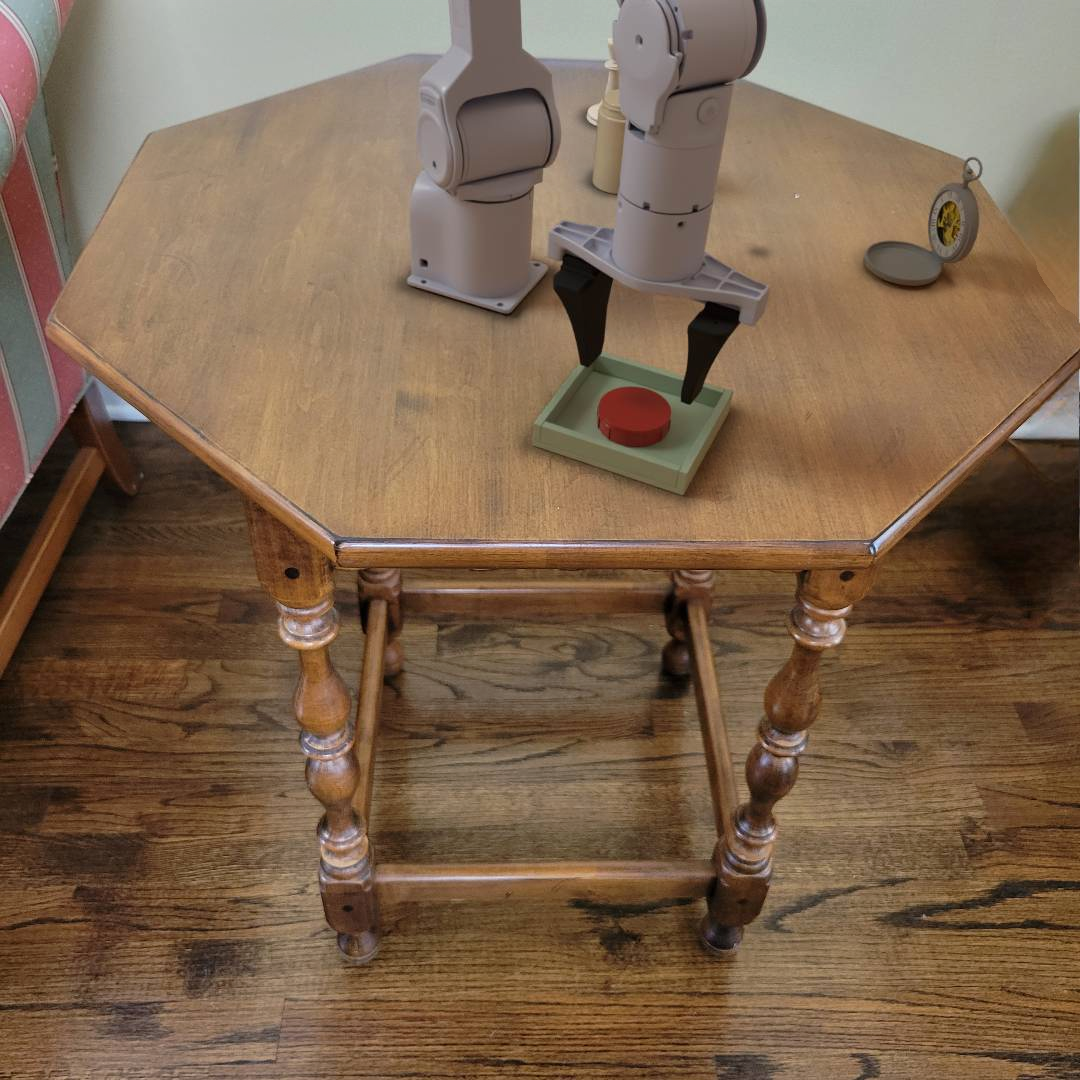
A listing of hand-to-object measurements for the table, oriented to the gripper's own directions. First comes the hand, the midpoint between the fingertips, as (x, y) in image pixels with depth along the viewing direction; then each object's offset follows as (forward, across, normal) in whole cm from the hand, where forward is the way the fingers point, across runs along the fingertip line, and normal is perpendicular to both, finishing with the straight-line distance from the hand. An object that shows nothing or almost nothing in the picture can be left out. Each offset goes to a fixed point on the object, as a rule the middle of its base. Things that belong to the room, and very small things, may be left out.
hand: (640, 377), depth 73 cm
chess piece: (+5, +25, -46) cm, 52 cm away
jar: (+4, +18, -33) cm, 38 cm away
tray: (+4, 0, 0) cm, 4 cm away
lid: (+3, 0, 0) cm, 3 cm away
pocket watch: (+5, -11, -34) cm, 36 cm away
